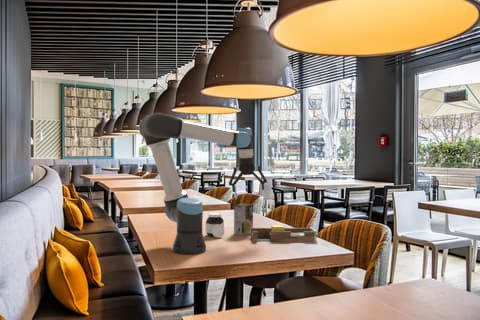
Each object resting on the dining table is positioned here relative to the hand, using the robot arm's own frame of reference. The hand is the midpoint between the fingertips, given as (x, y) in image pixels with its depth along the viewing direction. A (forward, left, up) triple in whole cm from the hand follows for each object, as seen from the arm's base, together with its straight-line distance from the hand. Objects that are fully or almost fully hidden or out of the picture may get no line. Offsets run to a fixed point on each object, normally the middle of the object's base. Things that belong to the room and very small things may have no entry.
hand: (248, 197), depth 216 cm
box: (-5, -18, -21) cm, 28 cm away
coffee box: (+10, +2, -22) cm, 24 cm away
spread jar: (+4, +17, -22) cm, 28 cm away
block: (-5, -15, -18) cm, 24 cm away
